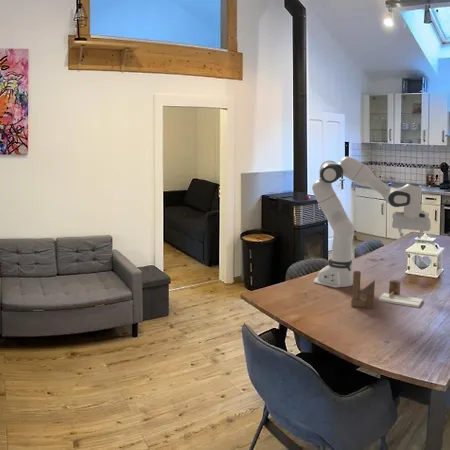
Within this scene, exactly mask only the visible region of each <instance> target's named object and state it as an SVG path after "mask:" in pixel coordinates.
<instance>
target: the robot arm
mask: <svg viewBox="0 0 450 450" xmlns="http://www.w3.org/2000/svg"><path fill="white" fill-rule="evenodd" d="M318 173H319V178H318V180H316V181H314V183H313V184H312V186H311V190H312V191H313V195H314V197H315V200H316V201H317V203H318V206H319V207H320V209H321V211H322V213H323V215H324V216H325V218H326V220H327V222H328V223H329V225H330V227H331V229H332V230H333V238H332V245H331V257H330V258H329V259H328V260H327V264H328V265H326V266H324V267H322V268H321V269H320V270H319V271H318V274H317V277H315V278H314V279H313V283H315V284H318V285H323V286H327V287H331V288H338V289H339V288H346V287H351V286H353V276H352V267H353V260H352V249H353V242H354V233H355V226H354V224H353V223H352V221H351V220H350V218H349V217H348V215H347V212H346V211H345V209H344V207H343V205H342V203H341V201H340V199H339V198H338V196H337V194H336V192H335V190H334V188H333V183H335V182H337V181H338V180H339V179H340V178H342V177H345V178H347V179H348V180H350V181H352V182H353V183H355V184H356V185H358V186H361V187H367V188H370V189H372V190H374V191H376V192H377V193H378V194H379V195H381V196H382V197H383V199H384V200H385V202H386V203H387V204H389V205H390V206H392V207H393V208H400V207H402V208H403V211H395V212H393V213H392V217H391V218H392V223H391V227H392V228H393V229H398V232H399V237H400V238H401V237H402V238H403V237H404V233H403V232H402V230H409V231H410V230H412V231H419V232H420V234H417V239H421V238H422V235H423V233H424V232H429V231H430V230H431V229H432V227H431V225H432V223H431V218H429V216H430V213H429V212H427V211H425V210H422V206H421V204H422V197H423V196H422V195H423V194H422V193H423V192H422V187H421V186H420V185H418V184H416V183H411V182H410V183H407V184H405V185H403V186H402V187H396V186H390V185H388V184H387V183H385V182H383V181H382V180H381V179H379V178H378V177H377V176H376V175H375V174H374V172H373V171H372V170H371V168H369V167H368V166H367V165H366V164H364V163H363V162H361V161H359V160H357V159H356V158H353V157H351V156H348V155H347V156H344V157H342V158H341V159H340V160H339V162H336V161H334V160H326V161H324V162H322V164H321V165H320V168H319V172H318Z"/></svg>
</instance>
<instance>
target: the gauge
mask: <svg viewBox="0 0 450 450" xmlns="http://www.w3.org/2000/svg"><path fill="white" fill-rule="evenodd" d="M401 281H402V280H398V279H397V280H396V279H389V285H388V286H389V288H388V294H390V295H389V297H392V296H393V294H394V295H400V294H401ZM400 296H401V295H400Z"/></svg>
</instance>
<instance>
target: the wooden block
mask: <svg viewBox="0 0 450 450" xmlns="http://www.w3.org/2000/svg"><path fill="white" fill-rule="evenodd" d="M352 273H353V276H352V281H353V285H352V295H351V297H352V298H351V302H350V305H351V307H357V308H365V309H371V310H372V309H374V306H375V285H376V279H374V280H373V281H371V282H370V283H369V284H367V285H366V286H365V287H364V288H363V289H361V274H362V273H361V271H358V270H354V271H353V272H352ZM360 295H365V298H362V297H361V296H360Z"/></svg>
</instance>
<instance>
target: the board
mask: <svg viewBox="0 0 450 450" xmlns="http://www.w3.org/2000/svg"><path fill="white" fill-rule="evenodd" d="M389 295H390V294H389V293H387V292H383V293H382V294H381V295H380V297H379V298H378V302H380V303H381V302H383V303H388V304H394V305H395V304H396V305H401V306H406V307H413V308H420V306H421V305H422V303H423V301H424V299H423V298H420V297H412V296H406V295H394V294H393V296H392V297H389Z"/></svg>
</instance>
